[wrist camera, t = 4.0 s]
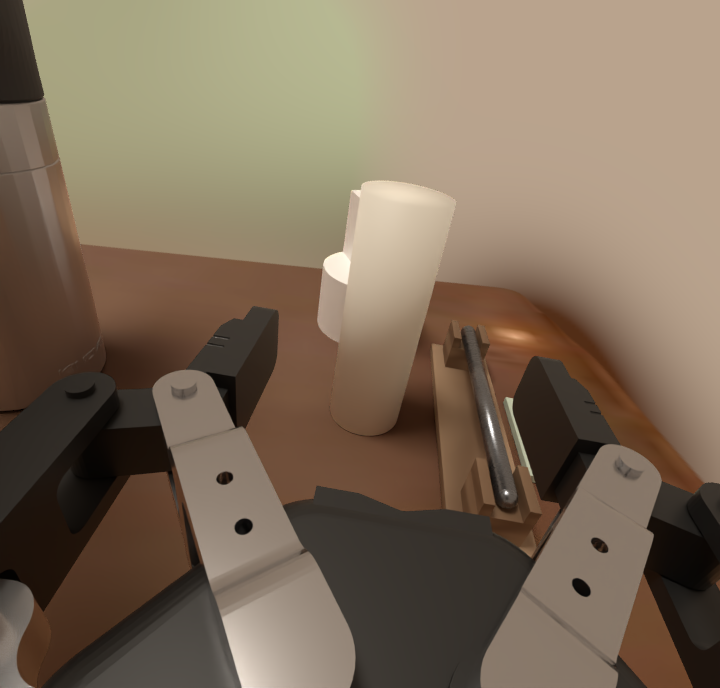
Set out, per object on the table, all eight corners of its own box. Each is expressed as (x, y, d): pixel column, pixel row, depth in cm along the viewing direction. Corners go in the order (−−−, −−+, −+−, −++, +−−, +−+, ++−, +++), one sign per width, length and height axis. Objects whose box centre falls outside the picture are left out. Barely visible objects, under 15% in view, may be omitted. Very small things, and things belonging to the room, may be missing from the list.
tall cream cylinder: (324, 428, 29) (356, 196, 20) (335, 382, 33) (366, 175, 24) (396, 441, 29) (461, 215, 20) (398, 394, 33) (451, 191, 24)
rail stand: (445, 550, 22) (465, 508, 20) (429, 350, 39) (440, 315, 37) (534, 567, 22) (564, 526, 20) (480, 359, 39) (494, 325, 37)
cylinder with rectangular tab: (419, 346, 40) (453, 225, 33) (331, 353, 36) (349, 220, 30) (385, 301, 46) (408, 193, 40) (308, 303, 43) (318, 187, 37)
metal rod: (493, 511, 22) (501, 497, 21) (458, 333, 37) (462, 322, 36) (515, 515, 22) (524, 501, 21) (471, 335, 37) (475, 324, 36)
